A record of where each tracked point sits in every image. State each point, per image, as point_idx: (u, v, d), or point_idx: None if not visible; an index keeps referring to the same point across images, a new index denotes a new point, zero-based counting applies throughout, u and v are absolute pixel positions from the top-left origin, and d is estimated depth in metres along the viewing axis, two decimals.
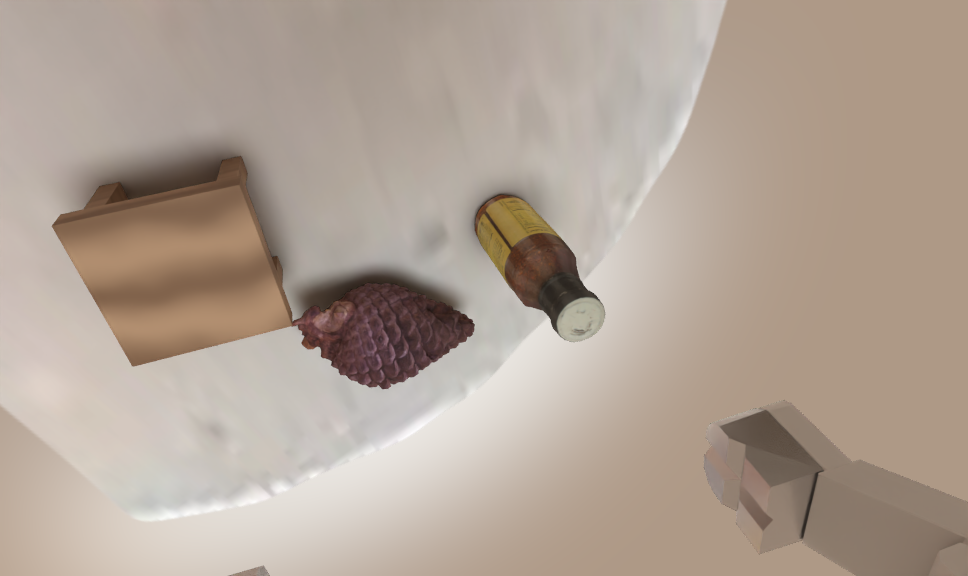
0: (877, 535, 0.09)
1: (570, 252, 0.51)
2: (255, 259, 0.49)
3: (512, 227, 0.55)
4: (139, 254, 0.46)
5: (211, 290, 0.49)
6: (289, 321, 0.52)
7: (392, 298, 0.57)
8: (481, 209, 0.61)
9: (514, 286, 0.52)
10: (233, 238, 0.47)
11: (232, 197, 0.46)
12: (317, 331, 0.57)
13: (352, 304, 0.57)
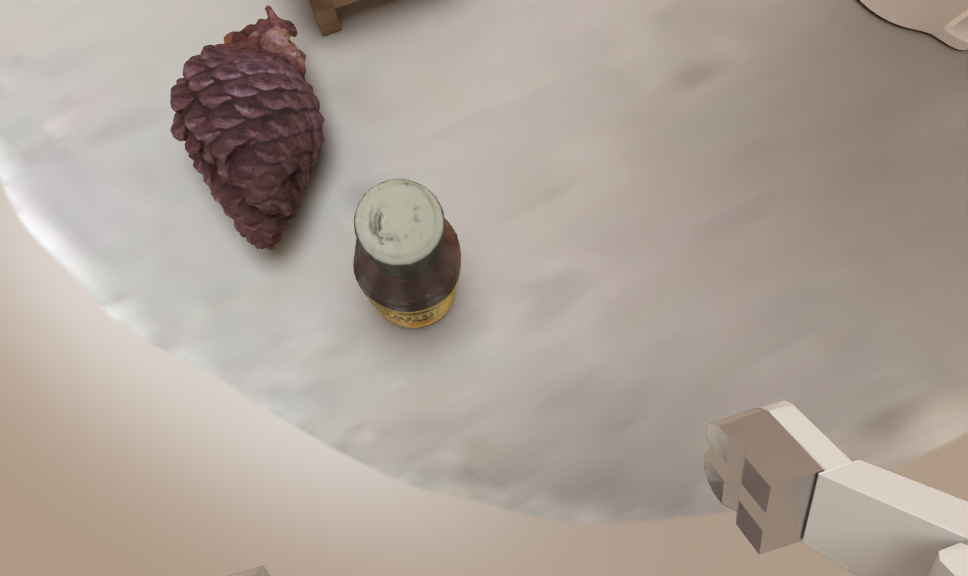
0: (877, 535, 0.09)
1: (455, 273, 0.34)
2: None
3: None
4: None
5: None
6: None
7: (314, 116, 0.43)
8: None
9: None
10: None
11: None
12: (260, 30, 0.43)
13: (303, 69, 0.43)
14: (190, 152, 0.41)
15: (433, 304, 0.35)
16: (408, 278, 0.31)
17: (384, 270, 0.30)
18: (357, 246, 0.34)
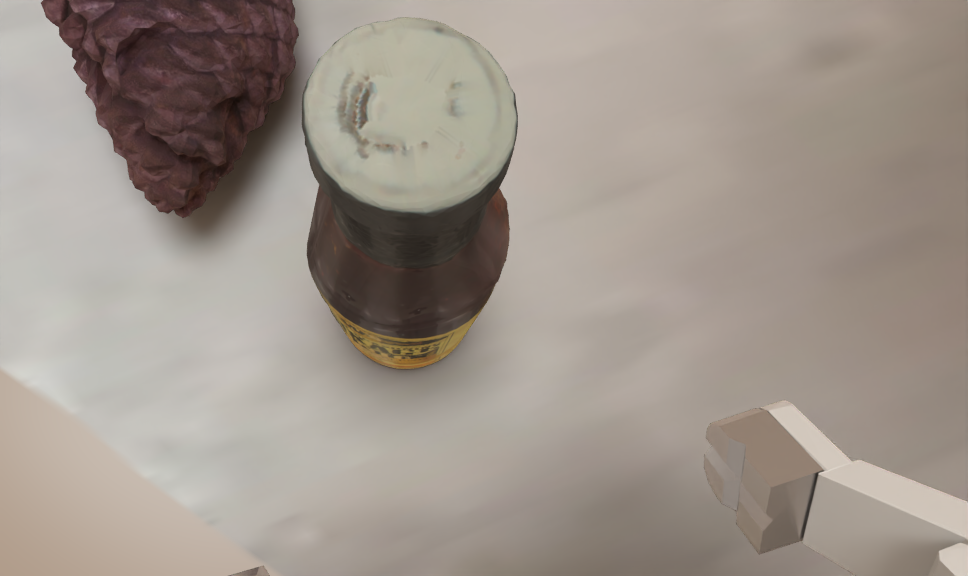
0: (877, 535, 0.09)
1: (498, 273, 0.18)
2: None
3: None
4: None
5: None
6: None
7: (283, 18, 0.27)
8: None
9: None
10: None
11: None
12: None
13: None
14: (67, 41, 0.25)
15: (447, 329, 0.19)
16: (411, 264, 0.15)
17: (363, 239, 0.14)
18: (317, 204, 0.18)
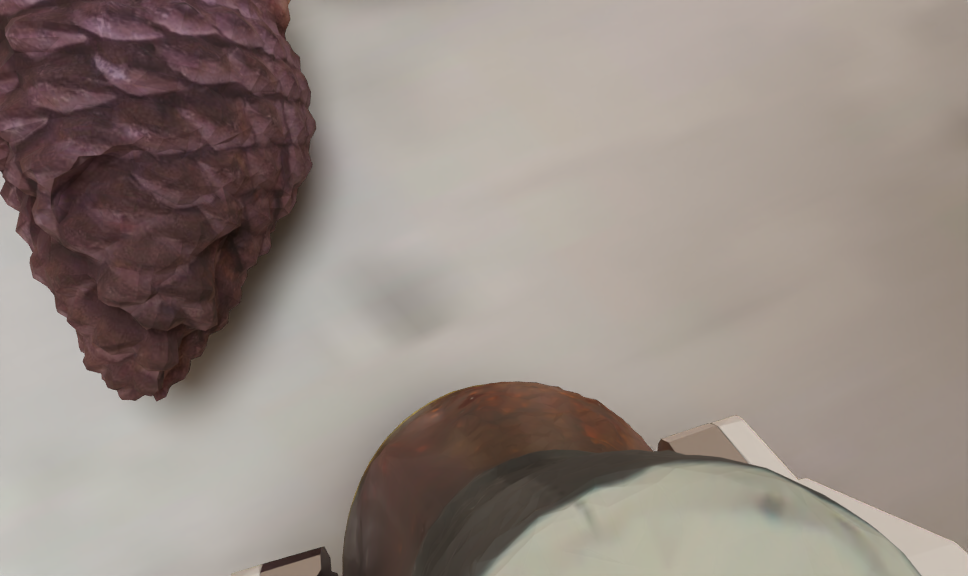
0: None
1: None
2: None
3: None
4: None
5: None
6: None
7: (296, 115, 0.19)
8: None
9: (474, 389, 0.11)
10: None
11: None
12: None
13: (284, 16, 0.20)
14: None
15: None
16: None
17: None
18: (363, 517, 0.11)
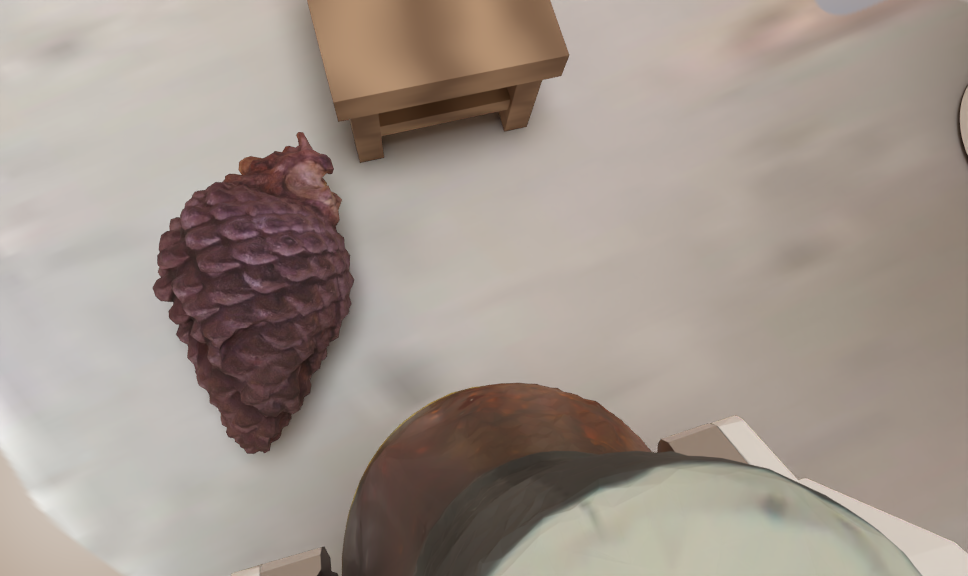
0: None
1: None
2: (456, 63, 0.33)
3: None
4: None
5: (406, 5, 0.34)
6: (342, 99, 0.32)
7: (344, 283, 0.33)
8: None
9: (474, 390, 0.11)
10: (490, 40, 0.34)
11: (550, 45, 0.34)
12: (288, 164, 0.34)
13: (336, 220, 0.34)
14: (175, 321, 0.31)
15: None
16: None
17: None
18: (363, 518, 0.11)
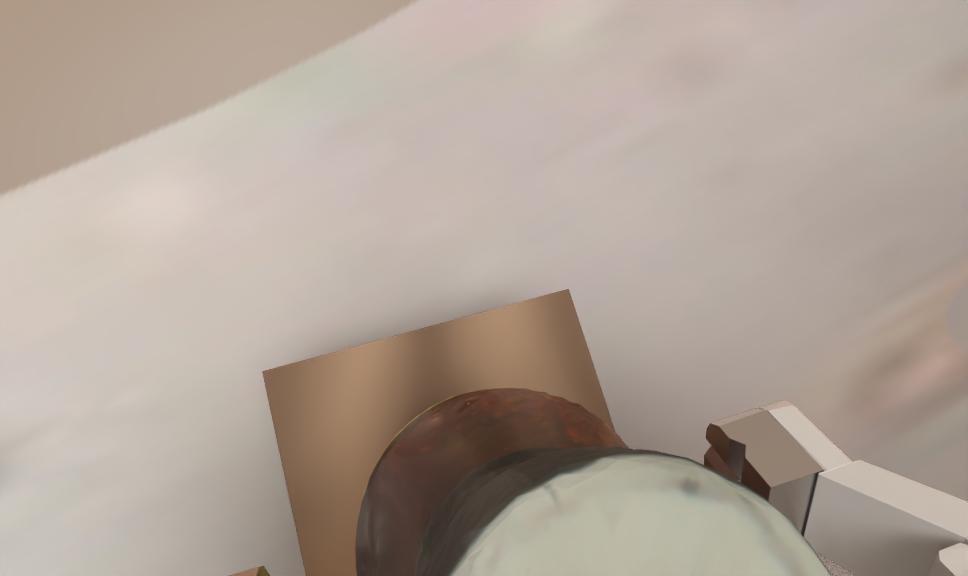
0: (877, 535, 0.09)
1: None
2: None
3: None
4: None
5: None
6: None
7: None
8: None
9: (470, 395, 0.12)
10: None
11: None
12: None
13: None
14: None
15: None
16: None
17: None
18: (374, 510, 0.12)
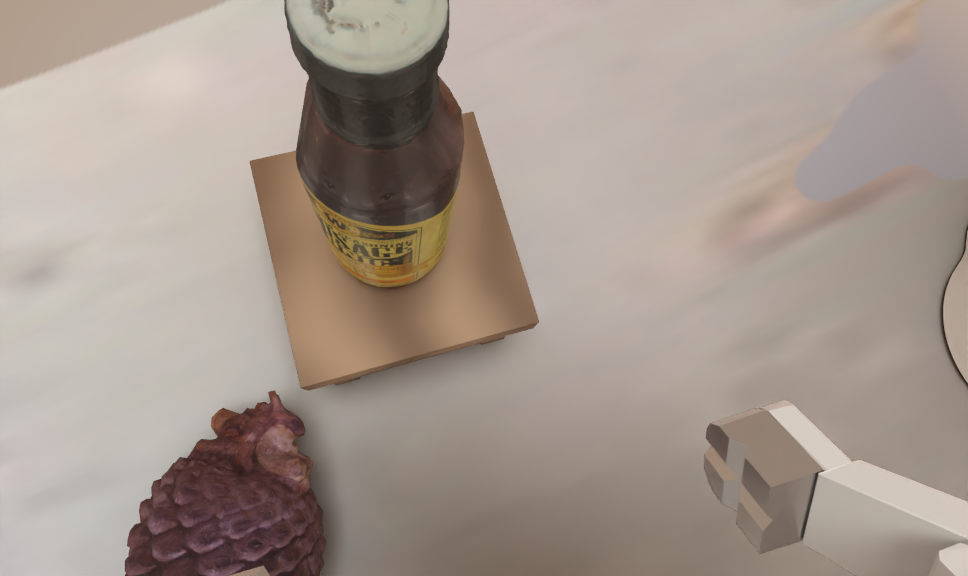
0: (877, 535, 0.09)
1: (454, 165, 0.21)
2: (424, 337, 0.33)
3: None
4: None
5: None
6: (309, 383, 0.32)
7: (315, 560, 0.33)
8: None
9: None
10: (459, 309, 0.34)
11: (520, 312, 0.34)
12: (259, 432, 0.34)
13: (307, 489, 0.34)
14: None
15: (414, 219, 0.23)
16: (377, 143, 0.18)
17: (337, 119, 0.18)
18: (303, 113, 0.22)
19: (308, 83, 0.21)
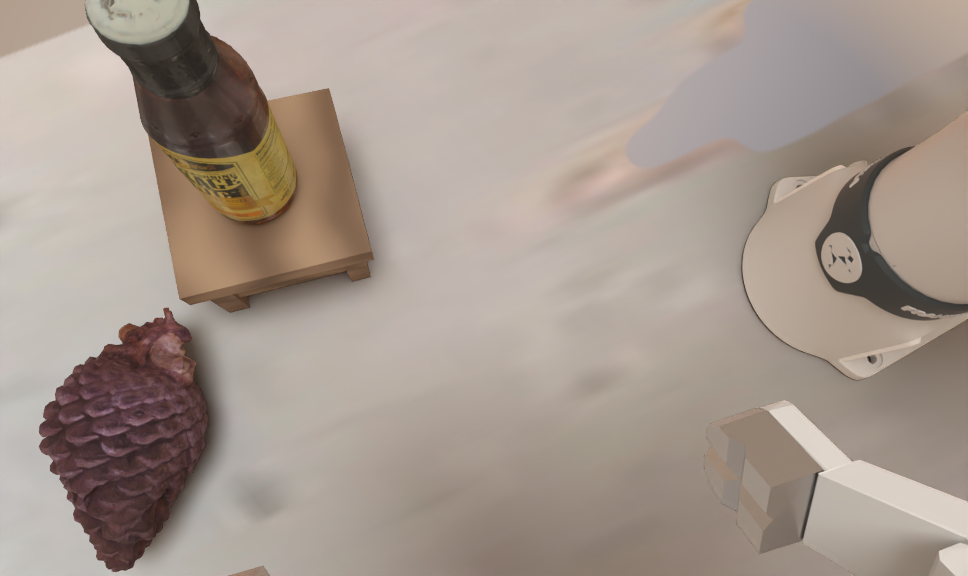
0: (877, 535, 0.09)
1: (244, 114, 0.31)
2: (279, 262, 0.42)
3: None
4: (293, 152, 0.44)
5: None
6: (186, 295, 0.41)
7: (193, 435, 0.42)
8: None
9: None
10: (307, 241, 0.43)
11: (356, 243, 0.43)
12: (152, 338, 0.43)
13: (189, 382, 0.43)
14: (55, 473, 0.40)
15: (223, 153, 0.32)
16: (170, 93, 0.28)
17: (139, 77, 0.27)
18: None
19: None
